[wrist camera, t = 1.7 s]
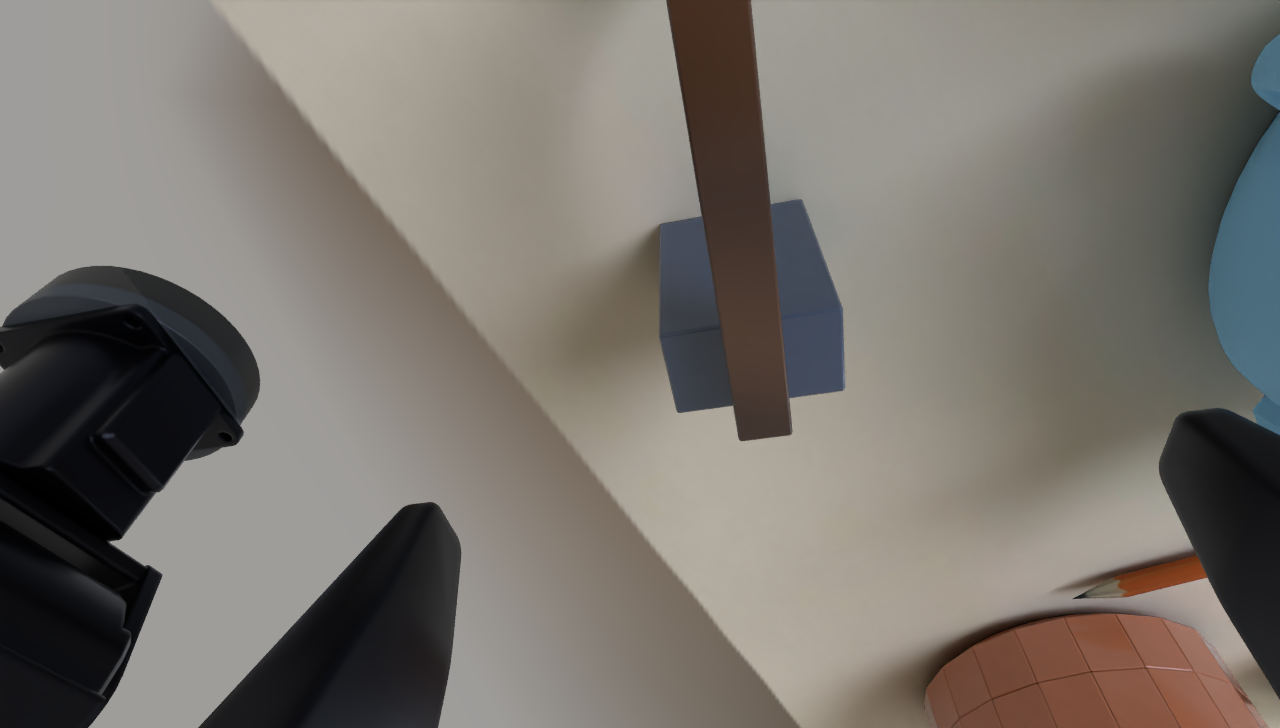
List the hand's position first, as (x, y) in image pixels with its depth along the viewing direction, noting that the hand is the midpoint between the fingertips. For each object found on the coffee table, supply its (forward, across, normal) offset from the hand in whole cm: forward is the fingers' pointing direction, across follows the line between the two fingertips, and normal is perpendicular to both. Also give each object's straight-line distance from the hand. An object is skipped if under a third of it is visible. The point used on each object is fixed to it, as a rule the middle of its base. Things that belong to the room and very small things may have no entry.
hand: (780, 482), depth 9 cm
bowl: (+12, -13, +30) cm, 35 cm away
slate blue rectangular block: (+12, 0, +3) cm, 12 cm away
